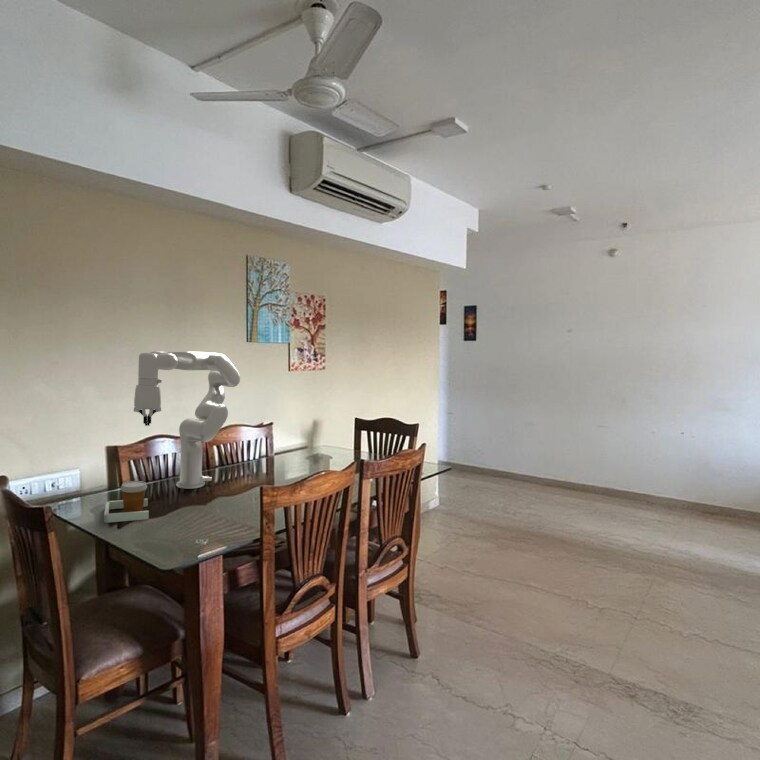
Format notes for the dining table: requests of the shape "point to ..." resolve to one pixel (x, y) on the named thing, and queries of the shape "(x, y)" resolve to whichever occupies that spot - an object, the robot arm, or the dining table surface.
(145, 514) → the bay
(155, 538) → the dining table surface
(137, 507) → the disposable coffee cup
